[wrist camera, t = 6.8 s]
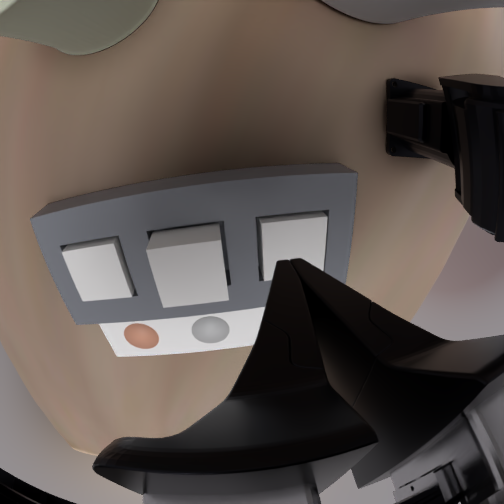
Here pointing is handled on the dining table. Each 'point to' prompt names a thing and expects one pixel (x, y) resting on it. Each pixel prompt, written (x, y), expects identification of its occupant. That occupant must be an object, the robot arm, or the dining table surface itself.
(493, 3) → the cylinder vase
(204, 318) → the pattern card
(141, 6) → the can
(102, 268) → the button
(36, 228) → the button board
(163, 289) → the button middle
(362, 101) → the dining table surface
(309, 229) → the button
